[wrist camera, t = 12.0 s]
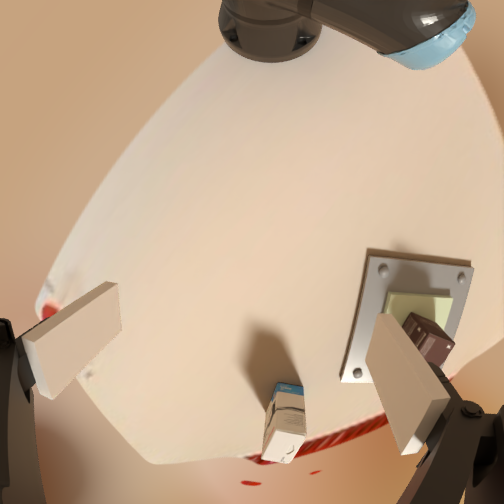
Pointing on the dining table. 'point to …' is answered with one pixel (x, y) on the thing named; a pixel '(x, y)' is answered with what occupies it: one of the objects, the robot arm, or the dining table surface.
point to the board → (405, 302)
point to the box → (428, 338)
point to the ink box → (284, 424)
